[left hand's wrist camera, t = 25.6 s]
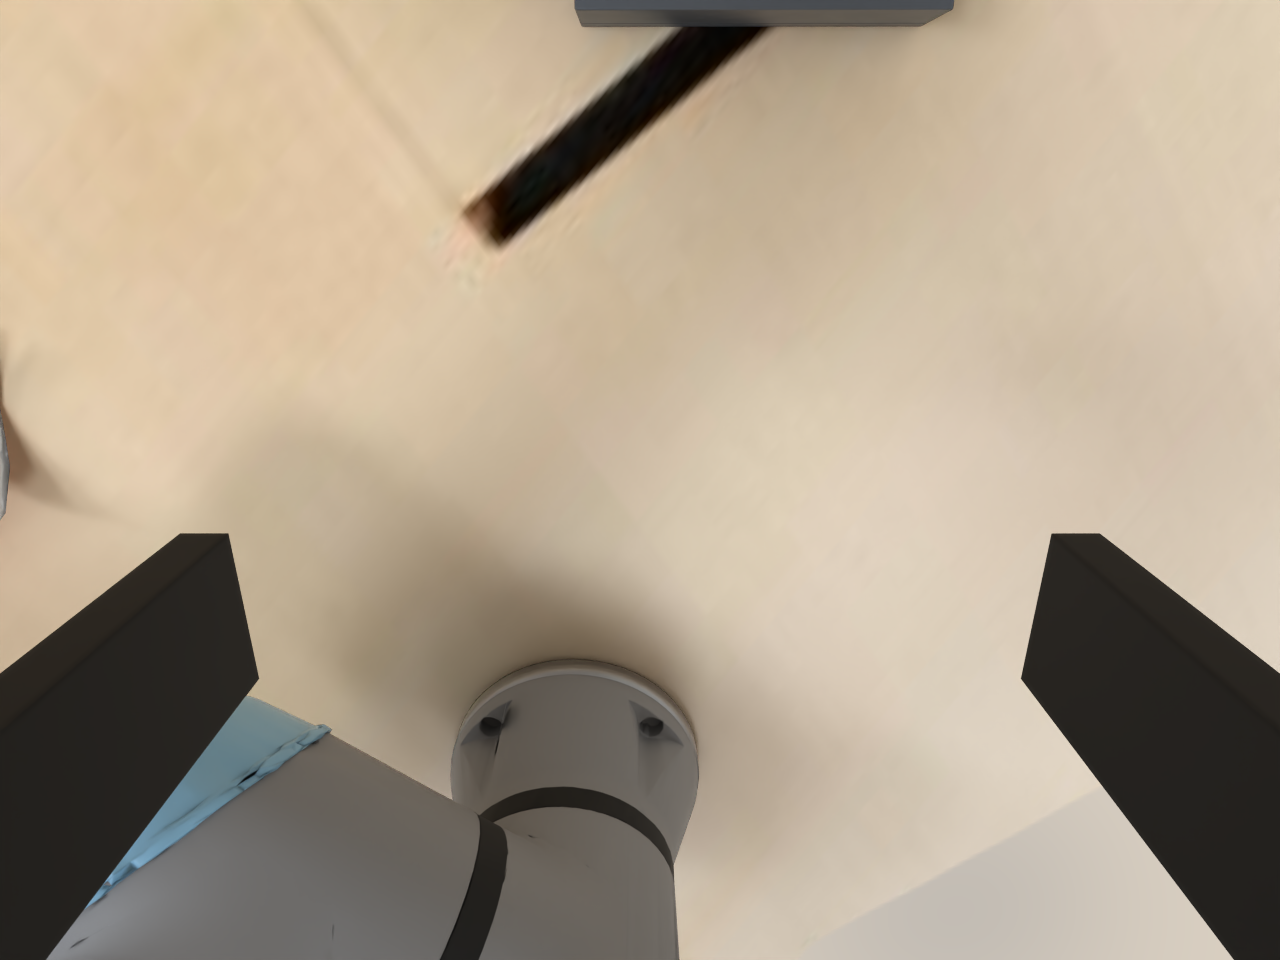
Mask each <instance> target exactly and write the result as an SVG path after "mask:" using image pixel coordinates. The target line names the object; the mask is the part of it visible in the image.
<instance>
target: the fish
mask: <svg viewBox="0 0 1280 960" xmlns="http://www.w3.org/2000/svg"><path fill="white" fill-rule="evenodd" d="M9 470H10V465H9V458H8V452H7V445H6V439H5V433H4V427H3V422H2V416H1V411H0V520H1V518H2V517H3V516H4V514H5V512H6V501H7V491H8V481H9Z"/></svg>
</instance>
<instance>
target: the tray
mask: <svg viewBox="0 0 1280 960" xmlns="http://www.w3.org/2000/svg"><path fill="white" fill-rule="evenodd" d="M953 5H954V0H575V10H576V13H577V15H578V18H579V20H580V23H581V26H582V27H729V26H922V25H924V24H926V23H928V22H930V21H932V20H933V19H935V18H937V17H939V16H941V15H943V14H945V13H947V12H948V11H950V10H952V9H953Z"/></svg>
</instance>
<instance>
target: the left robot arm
mask: <svg viewBox="0 0 1280 960" xmlns="http://www.w3.org/2000/svg"><path fill="white" fill-rule="evenodd" d="M258 679H259V676H258V672H257V667H256V662H255V657H254V653H253V648H252V643H251V638H250V634H249V629H248V624H247V620H246V615H245V610H244V605H243V601H242V596H241V591H240V586H239V582H238V577H237V572H236V568H235V563H234V558H233V553H232V549H231V544H230V539H229V534H179V535H178V536H176V537H175V538H174V539H173V540H171V541H170V542H169V543H167V544H166V545H165V546H164V547H162V548H161V549H160V550H158V551H157V552H156V553H155V554H153V555H152V556H151V557H149V558H148V559H147V560H146V561H144V562H143V563H142V564H140V565H139V566H138V567H137V568H135V569H134V570H133V571H131V572H130V573H129V574H128V575H126V576H125V577H124V578H122V579H121V580H120V581H119V582H117V583H116V584H115V585H113V586H112V587H111V588H110V589H108V590H107V591H106V592H104V593H103V594H102V595H101V596H99V597H98V598H97V599H95V600H94V601H93V602H92V603H90V604H89V605H88V606H86V607H85V608H84V609H83V610H81V611H80V612H79V613H77V614H76V615H75V616H74V617H72V618H71V619H70V620H68V621H67V622H66V623H65V624H63V625H62V626H61V627H59V628H58V629H57V630H56V631H54V632H53V633H52V634H50V635H49V636H48V637H47V638H45V639H44V640H43V641H41V642H40V643H39V644H38V645H36V646H35V647H34V648H32V649H31V650H30V651H29V652H27V653H26V654H25V655H23V656H22V657H21V658H20V659H18V660H17V661H16V662H14V663H13V664H12V665H11V666H9V667H8V668H7V669H5V670H4V671H3V672H2V673H0V960H679V947H678V932H677V917H676V901H675V886H674V866H673V865H674V862H675V859H676V856H677V854H678V851H679V848H680V845H681V842H682V839H683V836H684V833H685V831H686V828H687V825H688V822H689V819H690V816H691V813H692V810H693V808H694V804H695V800H696V794H697V788H698V780H699V769H698V758H697V749H696V743H695V739H694V735H693V732H692V730H691V727H690V725H689V723H688V721H687V719H686V717H685V715H684V714H683V712H682V711H681V710H680V708H679V707H678V706H677V704H676V703H675V702H674V701H673V700H672V699H671V698H670V697H669V696H668V695H667V694H666V693H665V692H664V691H663V690H661V689H660V688H659V687H658V686H656V685H655V684H654V683H652V682H650V681H649V680H647V679H646V678H644V677H642V676H640V675H638V674H636V673H634V672H632V671H629V670H627V669H624V668H622V667H618V666H615V665H612V664H608V663H603V662H598V661H590V660H575V659H571V660H556V661H548V662H544V663H539V664H535V665H532V666H528V667H525V668H523V669H520V670H518V671H515V672H513V673H511V674H509V675H507V676H505V677H504V678H502V679H501V680H499V681H497V682H496V683H494V684H493V685H492V686H491V687H489V688H488V689H487V690H486V691H485V692H484V693H483V694H482V695H481V696H480V697H479V698H478V699H477V700H476V701H475V703H474V704H473V705H472V706H471V708H470V710H469V711H468V713H467V714H466V716H465V718H464V720H463V722H462V725H461V728H460V731H459V734H458V737H457V740H456V743H455V746H454V750H453V755H452V762H451V789H452V798H453V800H451V799H449V798H447V797H445V796H443V795H441V794H439V793H437V792H435V791H434V790H432V789H430V788H428V787H426V786H424V785H423V784H421V783H419V782H417V781H415V780H414V779H412V778H410V777H408V776H406V775H404V774H403V773H401V772H399V771H397V770H395V769H393V768H392V767H390V766H388V765H386V764H384V763H382V762H381V761H379V760H377V759H375V758H373V757H371V756H370V755H368V754H366V753H364V752H362V751H360V750H359V749H357V748H355V747H353V746H351V745H350V744H348V743H346V742H344V741H342V740H340V739H339V738H337V737H335V736H333V735H331V734H329V733H330V732H331V730H332V729H330V728H329V727H328V726H326V725H324V724H322V725H316V726H315V725H313V724H310V723H308V722H306V721H304V720H302V719H300V718H298V717H295V716H293V715H291V714H289V713H287V712H285V711H283V710H280V709H278V708H276V707H274V706H272V705H270V704H268V703H265V702H263V701H261V700H259V699H256V698H253V697H250V696H246V695H247V694H248V693H249V691H250V690H251V689H252V687H253V686H254V685H255V683H256V682H257V681H258ZM1021 679H1022V681H1023V682H1024V683H1025V685H1026V686H1027V687H1028V689H1029V690H1030V691H1031V693H1032V694H1033V695H1034V696H1035V698H1036V699H1037V700H1038V702H1039V703H1040V704H1041V706H1042V707H1043V708H1044V710H1045V711H1046V712H1047V714H1048V715H1049V716H1050V718H1051V719H1052V720H1053V722H1054V723H1055V724H1056V726H1057V727H1058V728H1059V729H1060V731H1061V732H1062V733H1063V735H1064V736H1065V737H1066V739H1067V740H1068V741H1069V743H1070V744H1071V745H1072V747H1073V748H1074V749H1075V751H1076V752H1077V753H1078V755H1079V756H1080V757H1081V759H1082V760H1083V761H1084V762H1085V764H1086V765H1087V766H1088V768H1089V769H1090V770H1091V772H1092V773H1093V774H1094V776H1095V777H1096V778H1097V780H1098V781H1099V782H1100V784H1101V785H1102V786H1103V788H1104V789H1105V790H1106V791H1107V793H1108V794H1109V795H1110V797H1111V798H1112V799H1113V801H1114V802H1115V803H1116V805H1117V806H1118V807H1119V809H1120V810H1121V811H1122V812H1123V814H1124V815H1125V817H1126V818H1127V819H1128V820H1129V822H1130V823H1131V824H1132V826H1133V827H1134V828H1135V830H1136V831H1137V832H1138V834H1139V835H1140V836H1141V838H1142V839H1143V840H1144V842H1145V843H1146V844H1147V846H1148V847H1149V848H1150V849H1151V851H1152V852H1153V854H1154V855H1155V856H1156V857H1157V859H1158V860H1159V861H1160V863H1161V864H1162V865H1163V867H1164V868H1165V869H1166V871H1167V872H1168V873H1169V874H1170V876H1171V877H1172V879H1173V880H1174V881H1175V882H1176V884H1177V885H1178V886H1179V888H1180V889H1181V890H1182V892H1183V893H1184V894H1185V896H1186V897H1187V898H1188V900H1189V901H1190V902H1191V904H1192V905H1193V906H1194V908H1195V909H1196V910H1197V912H1198V913H1199V914H1200V915H1201V917H1202V918H1203V919H1204V921H1205V922H1206V923H1207V925H1208V926H1209V927H1210V929H1211V930H1212V931H1213V933H1214V934H1215V935H1216V937H1217V938H1218V939H1219V941H1220V942H1221V943H1222V945H1223V946H1224V947H1225V948H1226V950H1227V951H1228V952H1229V954H1230V955H1231V956H1232V958H1233V959H1234V960H1280V673H1278V672H1277V671H1276V670H1275V669H1273V668H1272V667H1271V666H1269V665H1268V664H1267V663H1266V662H1264V661H1263V660H1262V659H1260V658H1259V657H1258V656H1257V655H1255V654H1254V653H1253V652H1251V651H1250V650H1249V649H1248V648H1246V647H1245V646H1244V645H1242V644H1241V643H1240V642H1239V641H1237V640H1236V639H1235V638H1233V637H1232V636H1231V635H1230V634H1228V633H1227V632H1226V631H1224V630H1223V629H1222V628H1221V627H1219V626H1218V625H1217V624H1215V623H1214V622H1213V621H1212V620H1210V619H1209V618H1208V617H1206V616H1205V615H1204V614H1203V613H1201V612H1200V611H1199V610H1197V609H1196V608H1195V607H1194V606H1192V605H1191V604H1190V603H1188V602H1187V601H1186V600H1185V599H1183V598H1182V597H1181V596H1179V595H1178V594H1177V593H1176V592H1174V591H1173V590H1172V589H1170V588H1169V587H1168V586H1167V585H1165V584H1164V583H1163V582H1161V581H1160V580H1159V579H1158V578H1156V577H1155V576H1154V575H1152V574H1151V573H1150V572H1149V571H1147V570H1146V569H1145V568H1143V567H1142V566H1141V565H1140V564H1138V563H1137V562H1136V561H1134V560H1133V559H1132V558H1131V557H1129V556H1128V555H1127V554H1125V553H1124V552H1123V551H1122V550H1120V549H1119V548H1118V547H1116V546H1115V545H1114V544H1113V543H1111V542H1110V541H1109V540H1107V539H1106V538H1105V537H1104V536H1102V535H1101V534H1051V539H1050V544H1049V549H1048V553H1047V558H1046V563H1045V568H1044V572H1043V577H1042V582H1041V586H1040V591H1039V596H1038V601H1037V605H1036V610H1035V615H1034V620H1033V624H1032V629H1031V634H1030V638H1029V643H1028V648H1027V653H1026V657H1025V662H1024V667H1023V672H1022V676H1021Z"/></svg>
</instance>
